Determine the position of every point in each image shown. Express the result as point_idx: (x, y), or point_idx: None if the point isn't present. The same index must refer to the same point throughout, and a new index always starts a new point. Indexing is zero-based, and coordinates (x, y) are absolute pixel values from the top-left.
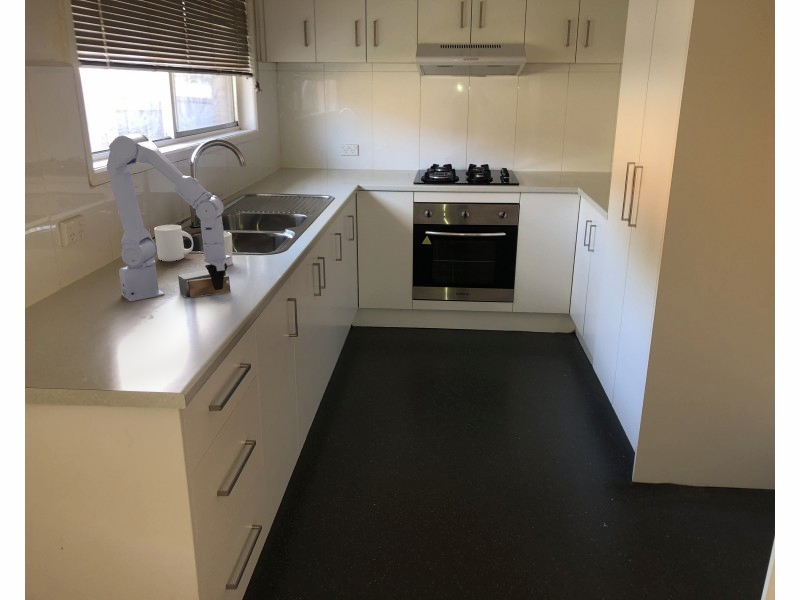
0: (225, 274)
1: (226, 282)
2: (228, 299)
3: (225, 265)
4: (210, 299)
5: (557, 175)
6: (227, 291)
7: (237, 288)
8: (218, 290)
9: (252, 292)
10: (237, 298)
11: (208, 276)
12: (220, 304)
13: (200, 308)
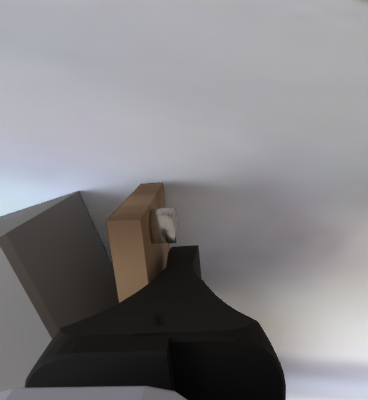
0: (18, 229)
1: (176, 231)
2: (278, 207)
3: (213, 360)
4: (233, 292)
5: None
6: (164, 203)
7: (77, 128)
8: (166, 258)
9: (197, 36)
10: (284, 154)
11: None
12: (346, 258)
13: (356, 347)
